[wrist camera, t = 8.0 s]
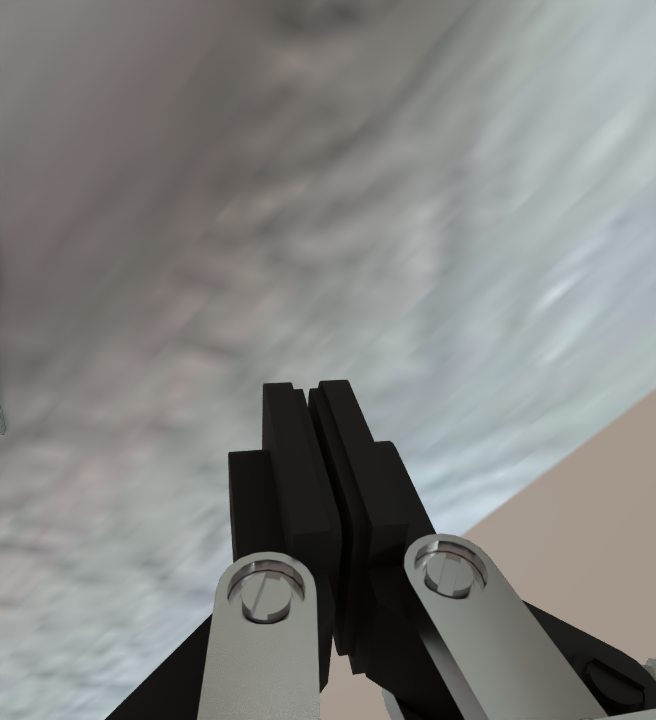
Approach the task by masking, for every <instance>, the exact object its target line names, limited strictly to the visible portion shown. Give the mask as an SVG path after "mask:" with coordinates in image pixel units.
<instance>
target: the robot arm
mask: <svg viewBox="0 0 656 720" xmlns="http://www.w3.org/2000/svg"><path fill="white" fill-rule="evenodd" d="M228 466H229V498H230V519H231V534H232V549H233V564H232V565H230V566H229V567H228V568H227V570H226V571H225V572H224V573H223V575H222V576H221V577H220V580H219V583H218V586H217V589H216V595H215V602H214V609H213V613H212V614H211V615H210V616H209V617H208V618H207V619H206V620H205V621H204V622H203V623H202V624H201V625H200V626H199V627H198V628H197V629H196V630H195V631H194V632H193V633H192V634H191V635H190V636H189V637H188V638H187V639H186V640H185V641H184V642H183V643H182V644H181V645H180V646H179V647H178V648H177V649H176V650H175V651H174V652H173V653H172V654H171V655H170V656H169V657H168V658H167V659H166V660H165V661H164V662H163V663H162V664H161V665H160V666H159V667H158V668H157V669H155V670H154V671H153V672H152V673H151V674H150V675H149V676H148V677H147V678H146V679H145V680H144V681H143V682H142V683H141V684H140V685H139V686H138V687H137V688H136V689H135V690H134V691H133V692H132V693H131V694H130V695H129V696H128V697H127V698H126V699H125V700H124V701H123V702H122V703H121V704H120V705H119V706H118V707H117V708H116V709H115V710H114V711H113V712H112V713H111V714H110V715H109V716H108V717H107V718H106V719H105V720H320V693H321V691H322V690H323V689H324V687H325V686H326V685H327V683H328V676H329V667H330V657H331V647H332V637H334V641H335V646H336V650H337V653H338V655H339V656H343V655H348V656H349V660H350V665H351V669H352V673H353V675H354V674H361V673H365V674H366V677H367V678H369V679H370V680H372V681H373V682H375V683H376V684H378V685H379V686H381V687H382V696H383V699H384V703H385V706H386V709H387V711H388V713H389V715H390V718H391V720H656V659H651V658H649V659H648V660H647V662H646V664H645V665H640V664H639V663H638V662H637V661H636V660H634V659H633V658H631V657H630V656H628V655H626V654H625V653H623V652H622V651H620V650H618V649H616V648H614V647H612V646H610V645H608V644H607V643H605V642H603V641H601V640H599V639H597V638H595V637H593V636H591V635H589V634H587V633H585V632H583V631H581V630H579V629H577V628H575V627H573V626H571V625H569V624H568V623H566V622H564V621H562V620H560V619H558V618H556V617H554V616H552V615H550V614H548V613H546V612H545V611H542V610H541V609H539V608H537V607H535V606H533V605H531V604H529V603H527V602H525V601H523V600H521V598H520V597H519V596H518V595H517V593H516V592H515V591H514V589H513V588H512V586H511V585H510V584H509V582H508V581H507V580H506V578H505V577H504V576H503V574H502V573H501V572H500V571H499V569H498V568H497V566H496V565H495V564H494V562H493V561H492V560H491V558H490V557H489V556H488V555H487V554H486V553H485V552H484V551H483V550H482V549H481V548H480V547H478V546H477V545H475V544H473V543H472V542H470V541H469V540H466V539H463V538H461V537H458V536H455V535H448V534H436V532H435V530H434V528H433V526H432V524H431V521H430V519H429V517H428V515H427V513H426V511H425V509H424V507H423V504H422V502H421V500H420V498H419V496H418V494H417V492H416V490H415V487H414V485H413V483H412V481H411V479H410V477H409V475H408V473H407V470H406V468H405V466H404V464H403V462H402V460H401V458H400V456H399V453H398V451H397V449H396V447H395V446H394V444H393V443H392V442H391V441H380V442H374V440H373V437H372V435H371V433H370V430H369V428H368V426H367V423H366V421H365V419H364V416H363V414H362V411H361V409H360V407H359V404H358V402H357V400H356V397H355V395H354V393H353V390H352V388H351V386H350V383H349V381H348V380H329V381H320V382H319V385H318V388H312V389H310V390H309V399H308V406H307V403H306V399H305V396H304V392H303V390H302V389H293V385H292V383H291V382H287V383H267V384H263V421H262V450H252V451H238V452H229V453H228Z"/></svg>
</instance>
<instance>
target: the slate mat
mask: <svg viewBox="0 0 656 720" xmlns="http://www.w3.org/2000/svg"><path fill="white" fill-rule="evenodd" d="M5 431H6V428H5V424H4V420H3V416H2V411H1V407H0V435H4V433H5Z"/></svg>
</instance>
